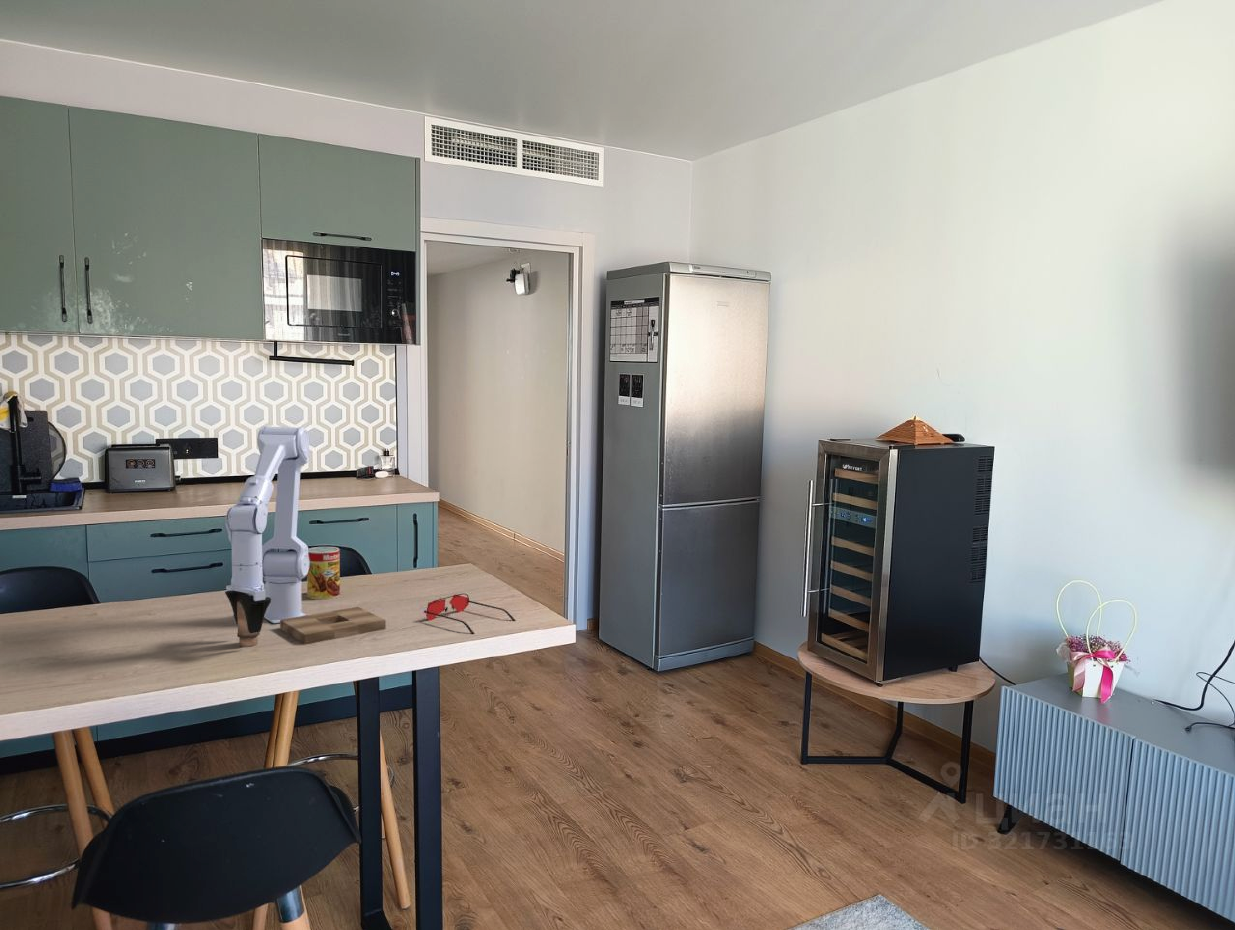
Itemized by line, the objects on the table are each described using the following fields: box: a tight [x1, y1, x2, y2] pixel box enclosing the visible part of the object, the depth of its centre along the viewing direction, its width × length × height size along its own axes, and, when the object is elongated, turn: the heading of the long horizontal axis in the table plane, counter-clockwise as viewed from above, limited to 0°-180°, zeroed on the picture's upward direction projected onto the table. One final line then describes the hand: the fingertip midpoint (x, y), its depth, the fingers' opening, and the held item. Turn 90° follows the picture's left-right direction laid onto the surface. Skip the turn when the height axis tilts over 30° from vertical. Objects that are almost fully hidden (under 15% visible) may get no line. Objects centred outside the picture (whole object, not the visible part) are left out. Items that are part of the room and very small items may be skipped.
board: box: [279, 606, 387, 645], centre depth 181 cm, size 14×18×2 cm
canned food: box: [306, 546, 341, 601], centre depth 209 cm, size 8×8×12 cm
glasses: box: [423, 593, 517, 635], centre depth 190 cm, size 14×16×5 cm
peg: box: [236, 601, 261, 648], centre depth 169 cm, size 4×4×9 cm
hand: (248, 627), depth 169 cm, fingers open, 7 cm apart
